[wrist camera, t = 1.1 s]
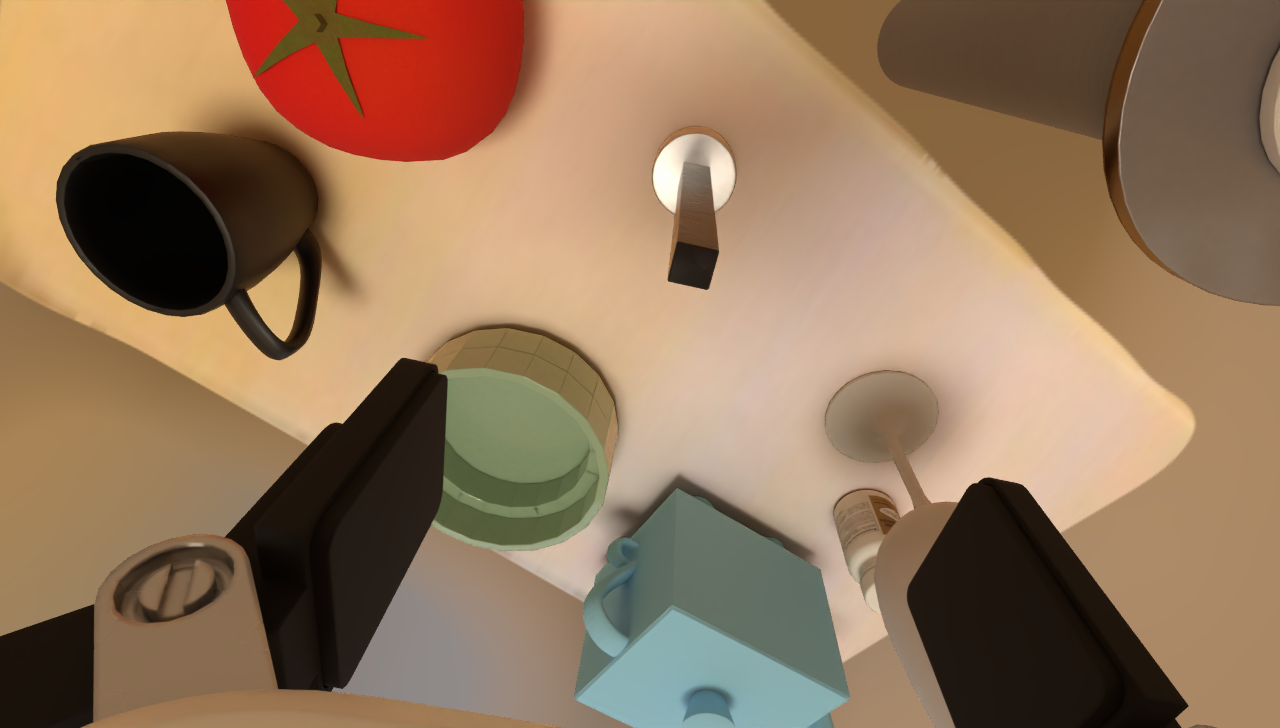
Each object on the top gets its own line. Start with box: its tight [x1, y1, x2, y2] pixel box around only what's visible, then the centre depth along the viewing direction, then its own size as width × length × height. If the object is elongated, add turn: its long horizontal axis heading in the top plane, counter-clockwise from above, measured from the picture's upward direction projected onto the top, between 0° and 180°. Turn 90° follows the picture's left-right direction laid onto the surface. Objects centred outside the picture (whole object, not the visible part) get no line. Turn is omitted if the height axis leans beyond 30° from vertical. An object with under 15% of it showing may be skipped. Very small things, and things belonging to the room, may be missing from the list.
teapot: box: [574, 488, 850, 728], centre depth 42 cm, size 22×11×14 cm, turn 57°
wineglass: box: [825, 371, 958, 728], centre depth 31 cm, size 8×8×21 cm
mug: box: [56, 132, 322, 360], centre depth 33 cm, size 8×12×10 cm
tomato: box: [226, 0, 524, 162], centre depth 26 cm, size 11×12×10 cm
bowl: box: [426, 328, 618, 551], centre depth 40 cm, size 14×14×6 cm
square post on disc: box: [652, 126, 736, 290], centre depth 26 cm, size 4×4×16 cm
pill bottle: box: [834, 490, 900, 614], centre depth 41 cm, size 4×4×8 cm
